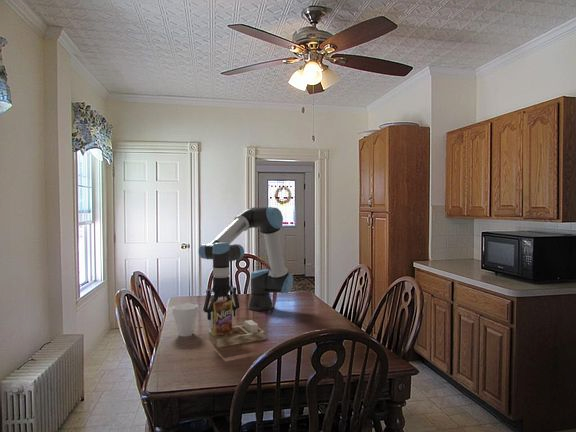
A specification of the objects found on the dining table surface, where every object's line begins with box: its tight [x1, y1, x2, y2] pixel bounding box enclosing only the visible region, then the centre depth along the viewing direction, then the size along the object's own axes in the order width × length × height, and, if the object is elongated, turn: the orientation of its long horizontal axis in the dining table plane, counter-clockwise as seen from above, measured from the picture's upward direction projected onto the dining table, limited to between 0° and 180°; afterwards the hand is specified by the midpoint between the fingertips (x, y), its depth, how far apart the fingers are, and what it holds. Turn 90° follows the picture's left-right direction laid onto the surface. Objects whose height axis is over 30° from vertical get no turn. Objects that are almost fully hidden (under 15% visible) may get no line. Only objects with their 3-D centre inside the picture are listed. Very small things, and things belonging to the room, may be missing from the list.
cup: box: [172, 303, 199, 338], centre depth 190 cm, size 12×12×14 cm
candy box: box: [210, 298, 233, 336], centre depth 177 cm, size 9×4×15 cm, turn 123°
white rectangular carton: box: [243, 319, 259, 333], centre depth 184 cm, size 4×8×6 cm, turn 28°
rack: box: [207, 324, 267, 348], centre depth 181 cm, size 23×16×4 cm
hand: (221, 325), depth 177 cm, fingers open, 9 cm apart
